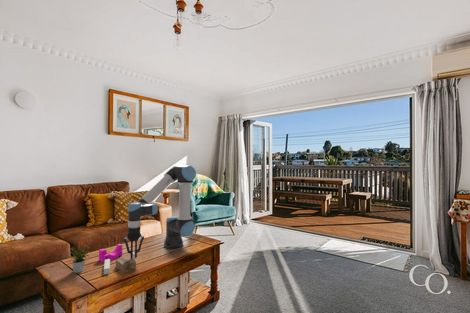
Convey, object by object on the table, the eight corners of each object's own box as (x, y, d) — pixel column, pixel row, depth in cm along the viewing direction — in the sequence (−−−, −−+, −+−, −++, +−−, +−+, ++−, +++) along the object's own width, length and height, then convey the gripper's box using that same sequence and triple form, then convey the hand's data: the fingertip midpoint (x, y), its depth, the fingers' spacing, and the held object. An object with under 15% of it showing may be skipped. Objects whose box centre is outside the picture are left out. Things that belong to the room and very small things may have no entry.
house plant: (62, 279, 145) (63, 250, 145) (61, 270, 156) (62, 244, 157) (91, 272, 154) (91, 245, 154) (88, 265, 165) (88, 239, 165)
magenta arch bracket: (103, 262, 169) (104, 251, 169) (98, 260, 173) (99, 249, 173) (124, 256, 182) (124, 245, 182) (119, 254, 185) (119, 243, 185)
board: (109, 264, 167) (110, 258, 167) (109, 274, 153) (109, 268, 153) (104, 265, 166) (105, 259, 166) (103, 275, 151) (103, 269, 151)
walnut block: (128, 263, 168) (128, 256, 168) (135, 269, 159) (135, 261, 159) (115, 267, 162) (115, 259, 162) (122, 273, 154) (122, 265, 154)
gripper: (144, 224, 171) (144, 259, 171) (123, 226, 166) (122, 262, 166) (145, 227, 164) (144, 263, 164) (123, 229, 159) (122, 266, 159)
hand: (133, 263), depth 165 cm, fingers closed
